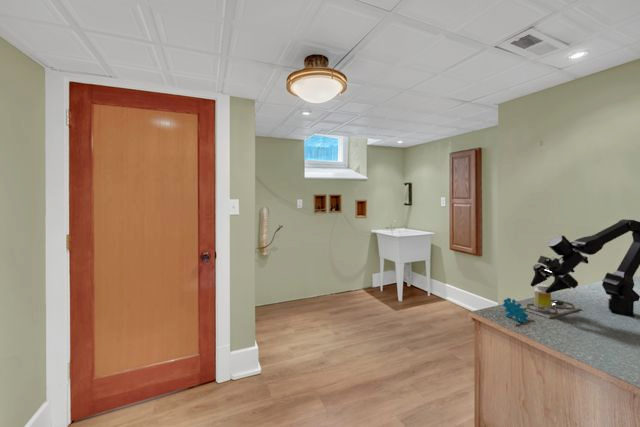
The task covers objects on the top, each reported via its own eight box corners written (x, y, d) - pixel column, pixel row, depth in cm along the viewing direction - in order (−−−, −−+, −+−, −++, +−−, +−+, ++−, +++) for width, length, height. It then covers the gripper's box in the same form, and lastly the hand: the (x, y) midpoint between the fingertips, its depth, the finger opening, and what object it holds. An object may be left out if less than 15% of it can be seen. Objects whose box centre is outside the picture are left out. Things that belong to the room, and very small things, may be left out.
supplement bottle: (554, 311, 116) (554, 286, 116) (542, 312, 115) (542, 287, 115) (542, 306, 121) (542, 282, 121) (530, 307, 121) (530, 283, 120)
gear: (514, 321, 106) (500, 296, 112) (503, 327, 110) (490, 303, 117) (536, 321, 109) (521, 297, 116) (524, 327, 113) (510, 304, 120)
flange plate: (550, 300, 130) (550, 295, 130) (581, 309, 120) (581, 303, 120) (519, 308, 122) (519, 303, 122) (550, 318, 111) (550, 312, 111)
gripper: (537, 246, 126) (511, 270, 128) (570, 253, 108) (539, 282, 109) (555, 263, 126) (529, 287, 127) (592, 274, 107) (560, 302, 109)
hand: (538, 289), depth 118 cm, fingers open, 9 cm apart
